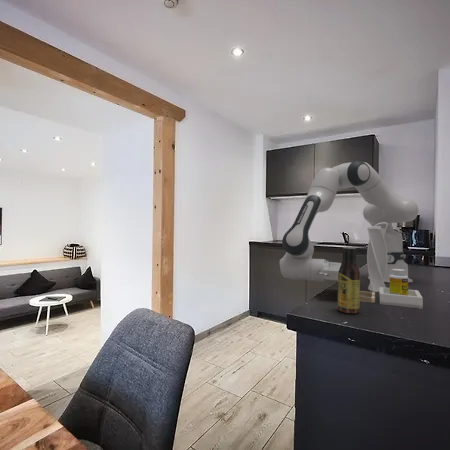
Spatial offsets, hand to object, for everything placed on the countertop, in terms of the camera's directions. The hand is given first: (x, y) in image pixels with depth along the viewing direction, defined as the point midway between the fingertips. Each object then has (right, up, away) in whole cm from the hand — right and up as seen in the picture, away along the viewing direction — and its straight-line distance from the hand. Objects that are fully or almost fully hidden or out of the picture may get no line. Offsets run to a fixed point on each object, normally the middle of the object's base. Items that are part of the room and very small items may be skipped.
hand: (359, 272), depth 104 cm
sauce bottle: (-11, -9, -17) cm, 22 cm away
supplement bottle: (+11, -8, -6) cm, 15 cm away
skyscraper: (+13, -10, +12) cm, 20 cm away
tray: (+11, -9, -6) cm, 16 cm away
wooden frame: (0, -9, 0) cm, 9 cm away
